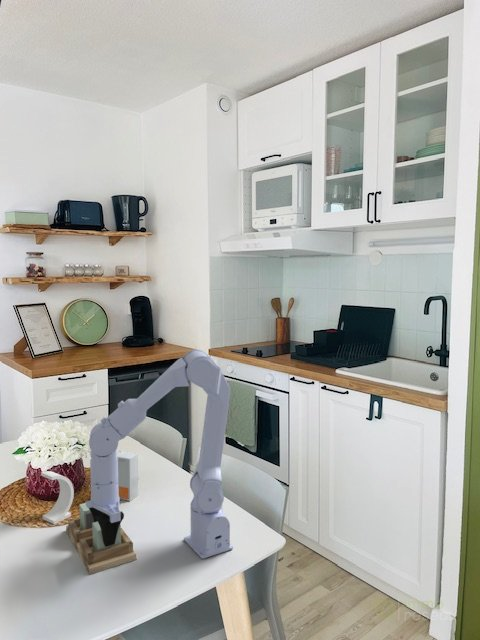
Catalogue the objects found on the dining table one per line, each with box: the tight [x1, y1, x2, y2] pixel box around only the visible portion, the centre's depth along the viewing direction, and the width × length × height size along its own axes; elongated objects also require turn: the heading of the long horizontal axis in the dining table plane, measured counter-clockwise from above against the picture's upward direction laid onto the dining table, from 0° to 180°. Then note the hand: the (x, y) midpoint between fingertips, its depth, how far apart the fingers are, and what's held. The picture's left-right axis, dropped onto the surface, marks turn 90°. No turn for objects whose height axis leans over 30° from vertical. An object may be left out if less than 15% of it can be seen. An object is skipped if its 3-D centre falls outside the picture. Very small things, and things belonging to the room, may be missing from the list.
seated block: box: [78, 502, 94, 531], centre depth 119 cm, size 4×5×6 cm
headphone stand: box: [40, 470, 75, 525], centre depth 128 cm, size 5×6×12 cm
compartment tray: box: [65, 516, 137, 575], centre depth 115 cm, size 20×10×3 cm, turn 32°
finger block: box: [92, 522, 122, 551], centre depth 111 cm, size 4×5×6 cm
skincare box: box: [116, 450, 139, 502], centre depth 139 cm, size 6×4×12 cm
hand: (106, 539), depth 111 cm, fingers closed on finger block, 4 cm apart
